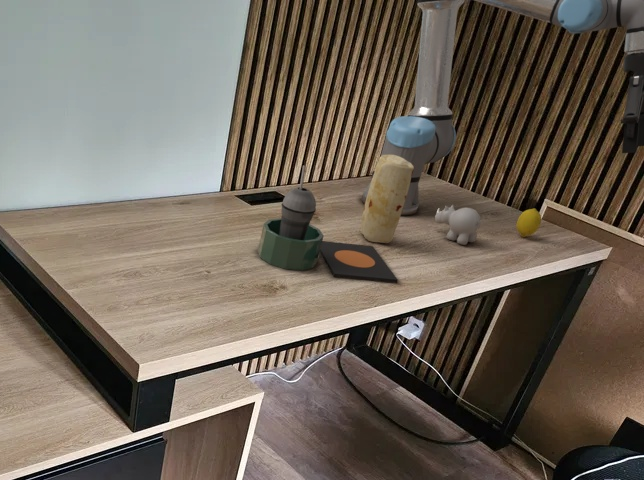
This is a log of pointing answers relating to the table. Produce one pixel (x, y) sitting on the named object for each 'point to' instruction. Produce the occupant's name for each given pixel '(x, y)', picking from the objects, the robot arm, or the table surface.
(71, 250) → the table surface
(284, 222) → the beverage cup
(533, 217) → the lemon
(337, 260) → the mat
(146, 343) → the table surface
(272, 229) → the pot
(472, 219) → the toy rhinoceros
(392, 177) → the food model
